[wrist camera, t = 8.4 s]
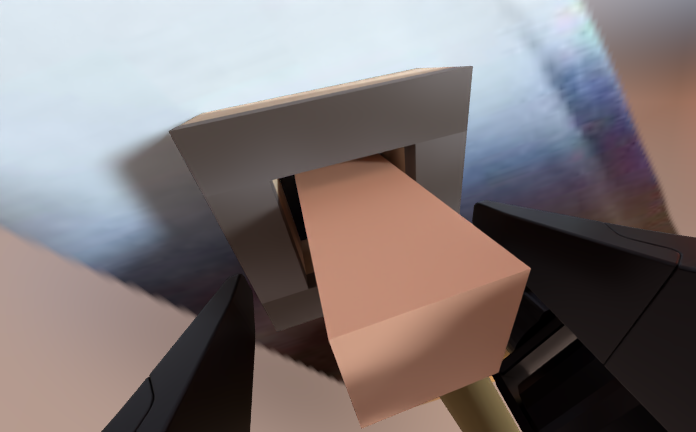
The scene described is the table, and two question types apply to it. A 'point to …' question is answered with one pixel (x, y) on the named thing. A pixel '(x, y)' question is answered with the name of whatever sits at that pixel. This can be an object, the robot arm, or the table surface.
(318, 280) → the square peg
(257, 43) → the table surface
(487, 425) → the beige pepper mill
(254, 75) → the table surface
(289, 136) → the socket block
